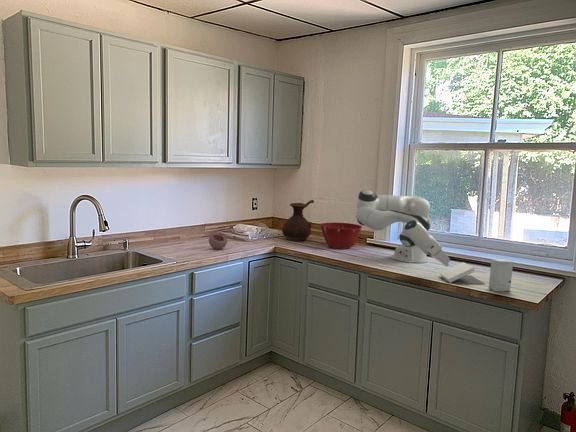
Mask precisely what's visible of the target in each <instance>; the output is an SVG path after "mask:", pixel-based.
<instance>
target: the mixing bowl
mask: <svg viewBox="0 0 576 432" xmlns="http://www.w3.org/2000/svg"><path fill="white" fill-rule="evenodd" d="M319 226H320V227H321V231H322V236H323V239H324V240H325V243H326V244H327V245H328V246H329V247H330V248H333V249H336V250H337V249H338V250H347V249H350V248H352V247H354V246H355V244H356V242H357V240H358V238H359V236H360V234H361V231H362V228H363V225H361V224H356V223H349V222H323V223H320V225H319Z"/></svg>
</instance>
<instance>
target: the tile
mask: <svg viewBox="0 0 576 432" xmlns="http://www.w3.org/2000/svg"><path fill="white" fill-rule="evenodd" d="M475 271H476V270H475V268H474V267H473V266H471V265H469V264H467V263H465V262H464V261H463V262H461V263H458V264H456V265H453V266H452V267H450V268H447V269H445V270H443V271H441V272H439V275H440V277H441V278H442V279H444V280H446V282H448V283H454V282H453V281H456V280H458V279H460V278H462V277H464V276H469V275H471V274H473V273H475Z"/></svg>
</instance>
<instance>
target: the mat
mask: <svg viewBox="0 0 576 432" xmlns="http://www.w3.org/2000/svg"><path fill="white" fill-rule="evenodd" d="M452 283H454V284H456V285H486V283H485V282H482V281H481V280H479V279H478V278H476V277H474V276H472V275H466V276H464V277H462V278H460V279H458V280H456V281H453V282H452Z"/></svg>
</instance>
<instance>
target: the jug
mask: <svg viewBox="0 0 576 432" xmlns="http://www.w3.org/2000/svg"><path fill="white" fill-rule="evenodd" d="M314 203H315V200H314V199H310V200H308V202H306V203H303V202H294V203H293V202H291V203H290V204H289V206H290V207H292V209H293V211H292V212H293V214H292V216H290V217H289V218H288V219H286V221H285V223H284V224H283V226H282V231H281V232H282V235H283V236H284V237H285V238H286V239H287V240H288V241H291V242H302V241H304V240H306V239H308V238H309V237H310V236H311V233H312V228H311V227H312V224H313V223H312V221H308V220H307V218H305V217H304V214H303V211H304V209H306V208H307V207H308V206H309V205H310V204H314Z"/></svg>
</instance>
